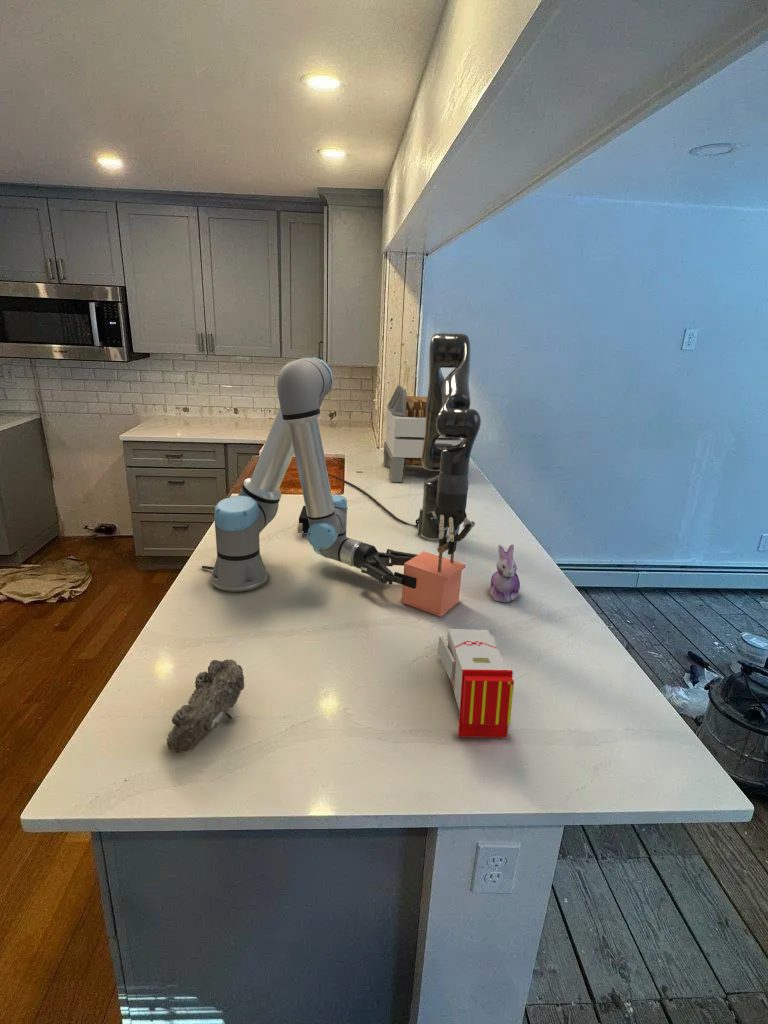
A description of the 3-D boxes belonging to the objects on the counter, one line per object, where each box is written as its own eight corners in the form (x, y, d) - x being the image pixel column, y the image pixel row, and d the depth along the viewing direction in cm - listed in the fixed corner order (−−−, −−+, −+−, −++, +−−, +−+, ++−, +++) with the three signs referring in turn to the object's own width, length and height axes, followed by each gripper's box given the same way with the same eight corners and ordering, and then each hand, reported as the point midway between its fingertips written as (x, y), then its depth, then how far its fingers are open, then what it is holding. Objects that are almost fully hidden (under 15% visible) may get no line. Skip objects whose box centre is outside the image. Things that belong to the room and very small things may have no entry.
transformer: (382, 463, 289) (386, 382, 275) (445, 464, 293) (451, 384, 279) (390, 482, 257) (394, 392, 243) (460, 483, 261) (468, 394, 247)
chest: (458, 601, 155) (462, 566, 152) (440, 616, 147) (444, 580, 144) (420, 588, 161) (423, 554, 158) (401, 602, 153) (403, 567, 150)
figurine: (502, 606, 153) (509, 556, 148) (479, 590, 162) (485, 541, 157) (529, 600, 157) (536, 550, 152) (505, 584, 166) (512, 537, 161)
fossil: (192, 660, 117) (244, 628, 112) (224, 691, 120) (276, 661, 115) (142, 746, 98) (202, 712, 93) (182, 779, 101) (242, 748, 96)
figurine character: (316, 543, 192) (320, 523, 205) (316, 523, 188) (320, 504, 202) (297, 543, 191) (302, 522, 205) (296, 523, 188) (301, 503, 202)
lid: (465, 567, 151) (468, 540, 148) (447, 581, 143) (450, 552, 140) (423, 554, 158) (425, 528, 155) (403, 566, 150) (405, 539, 147)
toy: (488, 613, 130) (523, 677, 101) (484, 667, 133) (517, 744, 104) (435, 612, 130) (455, 676, 101) (432, 666, 133) (451, 743, 103)
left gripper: (381, 554, 175) (444, 574, 163) (334, 580, 157) (402, 605, 145) (382, 531, 172) (446, 550, 161) (335, 555, 154) (404, 578, 143)
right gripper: (421, 486, 142) (416, 550, 148) (470, 498, 135) (464, 564, 140) (435, 480, 148) (431, 541, 153) (484, 490, 141) (477, 554, 146)
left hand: (425, 576), depth 153 cm, fingers closed on chest, 10 cm apart
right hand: (447, 552), depth 147 cm, fingers closed on lid
